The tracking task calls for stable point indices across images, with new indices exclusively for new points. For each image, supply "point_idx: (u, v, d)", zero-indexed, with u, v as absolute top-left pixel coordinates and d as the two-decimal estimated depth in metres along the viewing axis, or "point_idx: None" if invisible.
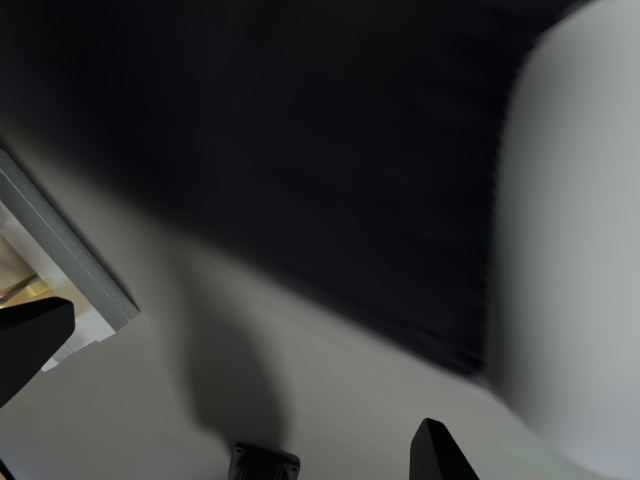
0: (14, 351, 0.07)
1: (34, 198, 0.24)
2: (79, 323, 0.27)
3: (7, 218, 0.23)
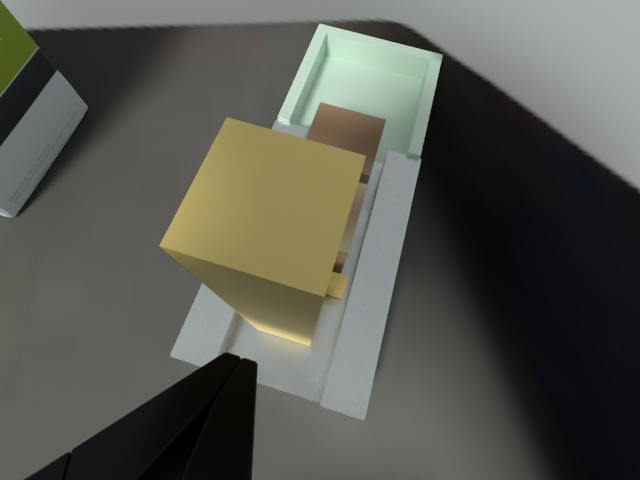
0: None
1: None
2: (285, 350, 0.18)
3: (396, 218, 0.19)
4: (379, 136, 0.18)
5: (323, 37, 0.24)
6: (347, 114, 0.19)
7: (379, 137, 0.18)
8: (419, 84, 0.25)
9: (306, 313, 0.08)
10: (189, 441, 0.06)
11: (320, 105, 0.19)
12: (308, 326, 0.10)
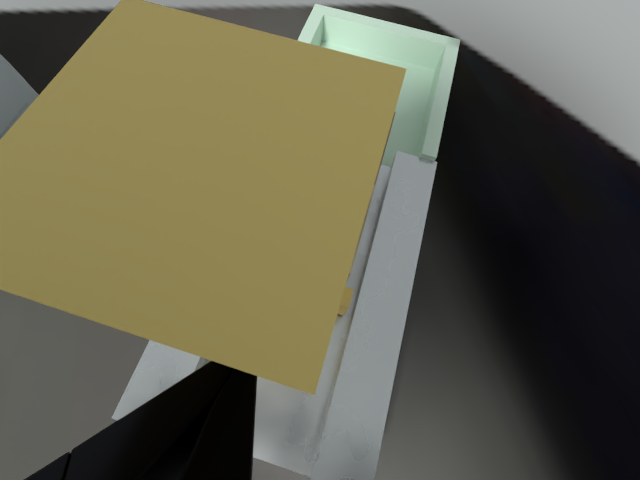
0: None
1: None
2: (266, 404, 0.14)
3: (408, 235, 0.16)
4: None
5: (320, 19, 0.21)
6: None
7: None
8: (432, 75, 0.22)
9: None
10: (189, 441, 0.06)
11: None
12: None
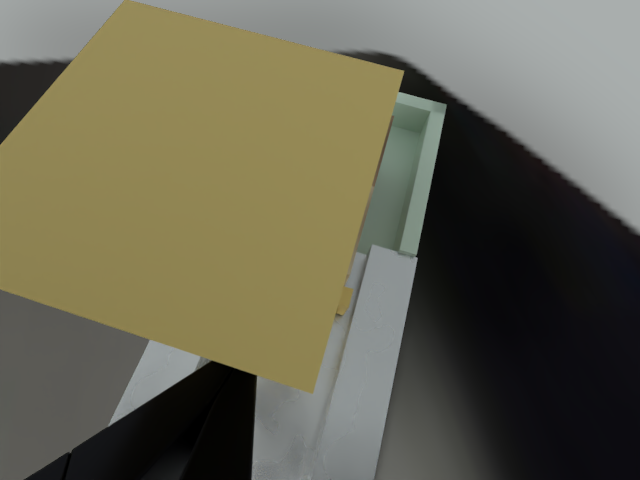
0: None
1: None
2: None
3: (381, 354, 0.13)
4: None
5: None
6: None
7: (385, 138, 0.15)
8: (416, 140, 0.20)
9: None
10: (189, 441, 0.06)
11: None
12: None
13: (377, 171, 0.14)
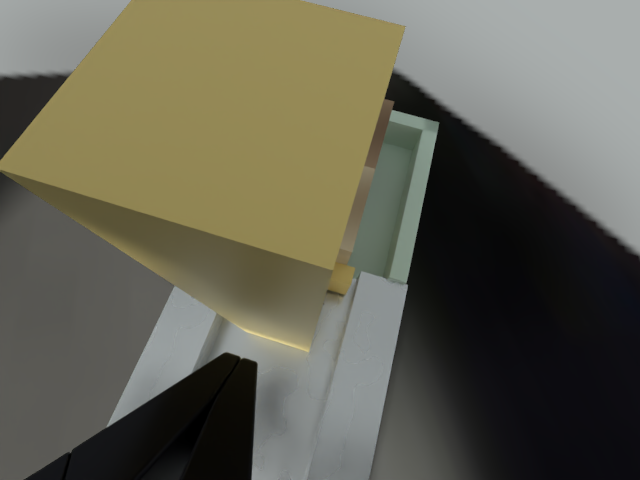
0: None
1: None
2: None
3: (370, 388, 0.13)
4: (386, 121, 0.15)
5: None
6: None
7: (386, 122, 0.15)
8: (408, 157, 0.19)
9: (300, 309, 0.05)
10: (189, 441, 0.06)
11: None
12: (305, 329, 0.07)
13: (378, 154, 0.14)
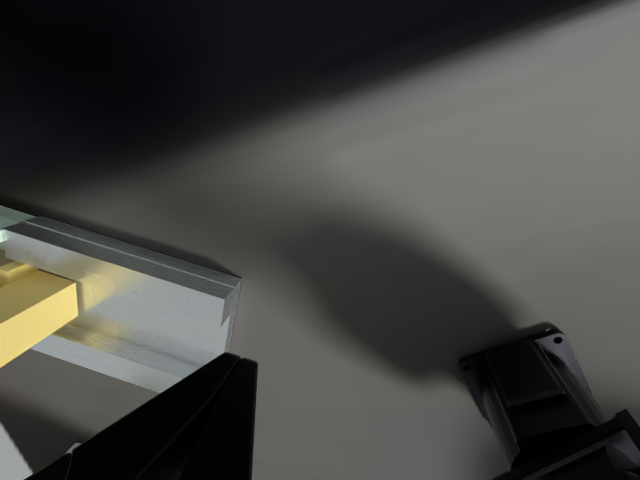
0: None
1: (83, 234, 0.23)
2: (200, 333, 0.23)
3: (66, 258, 0.21)
4: None
5: None
6: None
7: None
8: None
9: None
10: (189, 441, 0.06)
11: None
12: None
13: None
